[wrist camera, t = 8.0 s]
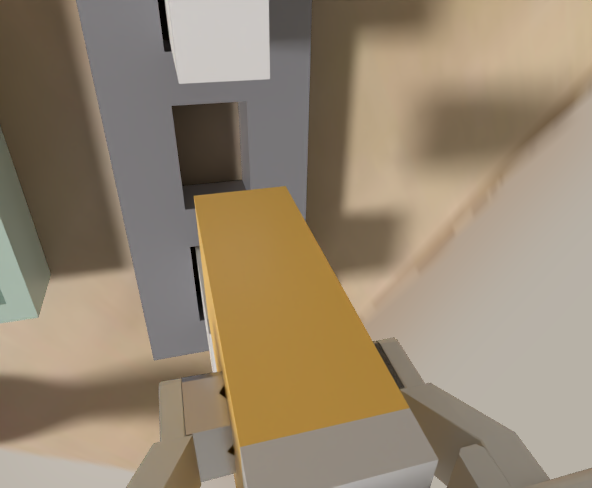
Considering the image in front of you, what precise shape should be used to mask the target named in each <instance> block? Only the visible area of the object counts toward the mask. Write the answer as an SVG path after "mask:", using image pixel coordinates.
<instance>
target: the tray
mask: <svg viewBox="0 0 592 488" xmlns="http://www.w3.org/2000/svg"><path fill="white" fill-rule="evenodd" d="M50 276H51V273H50V270H49V267H48V264H47V262H46V259H45V256H44V253H43V250H42V247H41V244H40V241H39V238H38V235H37V232H36V229H35V226H34V223H33V220H32V217H31V214H30V211H29V209H28V206H27V203H26V200H25V197H24V194H23V191H22V188H21V185H20V182H19V179H18V176H17V173H16V170H15V167H14V164H13V161H12V158H11V156H10V153H9V150H8V147H7V144H6V141H5V138H4V135H3V132H2V129H1V126H0V323H6V322H12V321H19V320H25V319H32V318H38V317H39V314H40V310H41V307H42V303H43V300H44V297H45V293H46V290H47V286H48V283H49V279H50Z"/></svg>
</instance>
